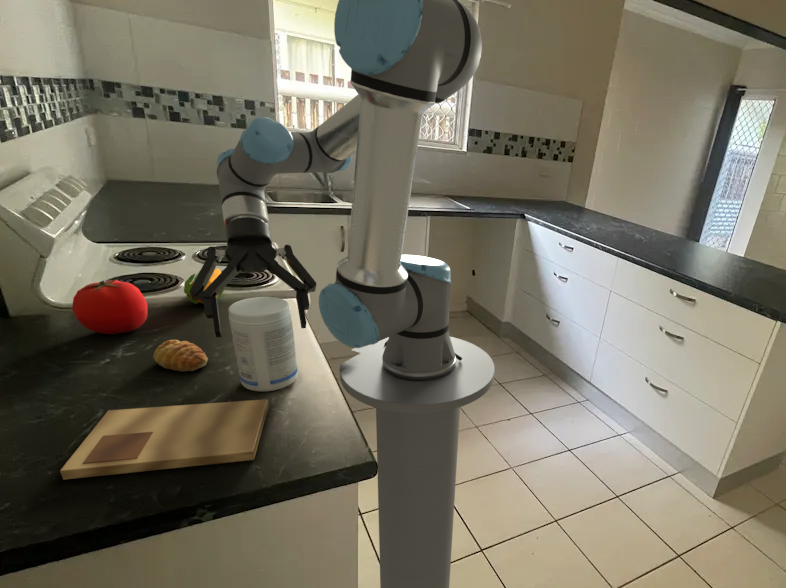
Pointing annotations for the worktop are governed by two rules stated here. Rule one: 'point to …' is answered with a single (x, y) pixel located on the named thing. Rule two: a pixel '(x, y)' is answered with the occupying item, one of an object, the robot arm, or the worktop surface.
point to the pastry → (180, 356)
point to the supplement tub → (263, 343)
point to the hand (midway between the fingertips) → (262, 329)
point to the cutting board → (169, 438)
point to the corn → (213, 277)
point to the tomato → (110, 307)
